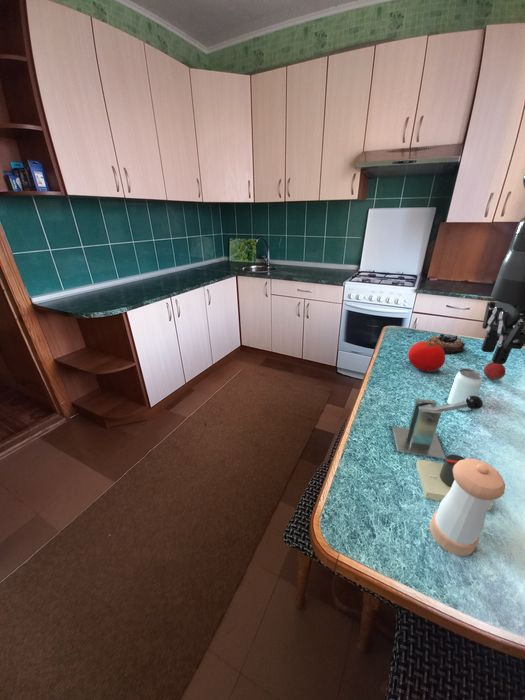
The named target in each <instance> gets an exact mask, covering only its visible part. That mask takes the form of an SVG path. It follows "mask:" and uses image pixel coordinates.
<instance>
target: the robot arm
mask: <svg viewBox="0 0 525 700" xmlns="http://www.w3.org/2000/svg"><path fill="white" fill-rule="evenodd" d="M522 185H523V188H524V189H525V174H523V179H522ZM498 271H499V272H498V273H497V277H496V280H495V283H494V286H493V288H492V292H491V294H490V296H491V298H492V299H493V300H494V301H492V300H489V301H487V303H486V307H485V312H484V317H483V322H482V325H481V326H482V329H483V330H484V334H485V337H484V339H483V342H482V344H481V345H482V346H481V347H480V349H481V351H482V352H483V353H493V356H492V359H491V362H493V363H495V364H502V365H505V364H506V363H507V362H508V361H507V360H508V358H509V356H510V354H511V352H512V350H521V349H522V348H523V347H524V345H525V216H523V217H522V218H521V219H520V220H519V222H518V223H517V226H516V229H515V231H514V233H513V237H512V240H511V242H510V245H509V248H508V251H507V252H506V254H505V256H504V259H503V260H502V263H501V266H500V269H499V270H498ZM506 330H510V331H506Z"/></svg>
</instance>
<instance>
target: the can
mask: <svg viewBox="0 0 525 700" xmlns="http://www.w3.org/2000/svg"><path fill="white" fill-rule="evenodd" d="M482 384H483V374H481V372H479V371H477V370H474V369H471V368H461V369H460V370H459V371H458V372H457V373H456V374H455V377H454V380H453V383H452V385H451V389H450V391H449V394H448V398H447V401H446V403H447V405H448V404H453V403H458V402H463V401H466V399H467V398H468V397H469V396H477V397H478V395H479V392H480V389H481V387H482ZM457 410H459V411H463V412H468V411H472V409H470V408H468V407H466V408H461V409H457Z"/></svg>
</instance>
